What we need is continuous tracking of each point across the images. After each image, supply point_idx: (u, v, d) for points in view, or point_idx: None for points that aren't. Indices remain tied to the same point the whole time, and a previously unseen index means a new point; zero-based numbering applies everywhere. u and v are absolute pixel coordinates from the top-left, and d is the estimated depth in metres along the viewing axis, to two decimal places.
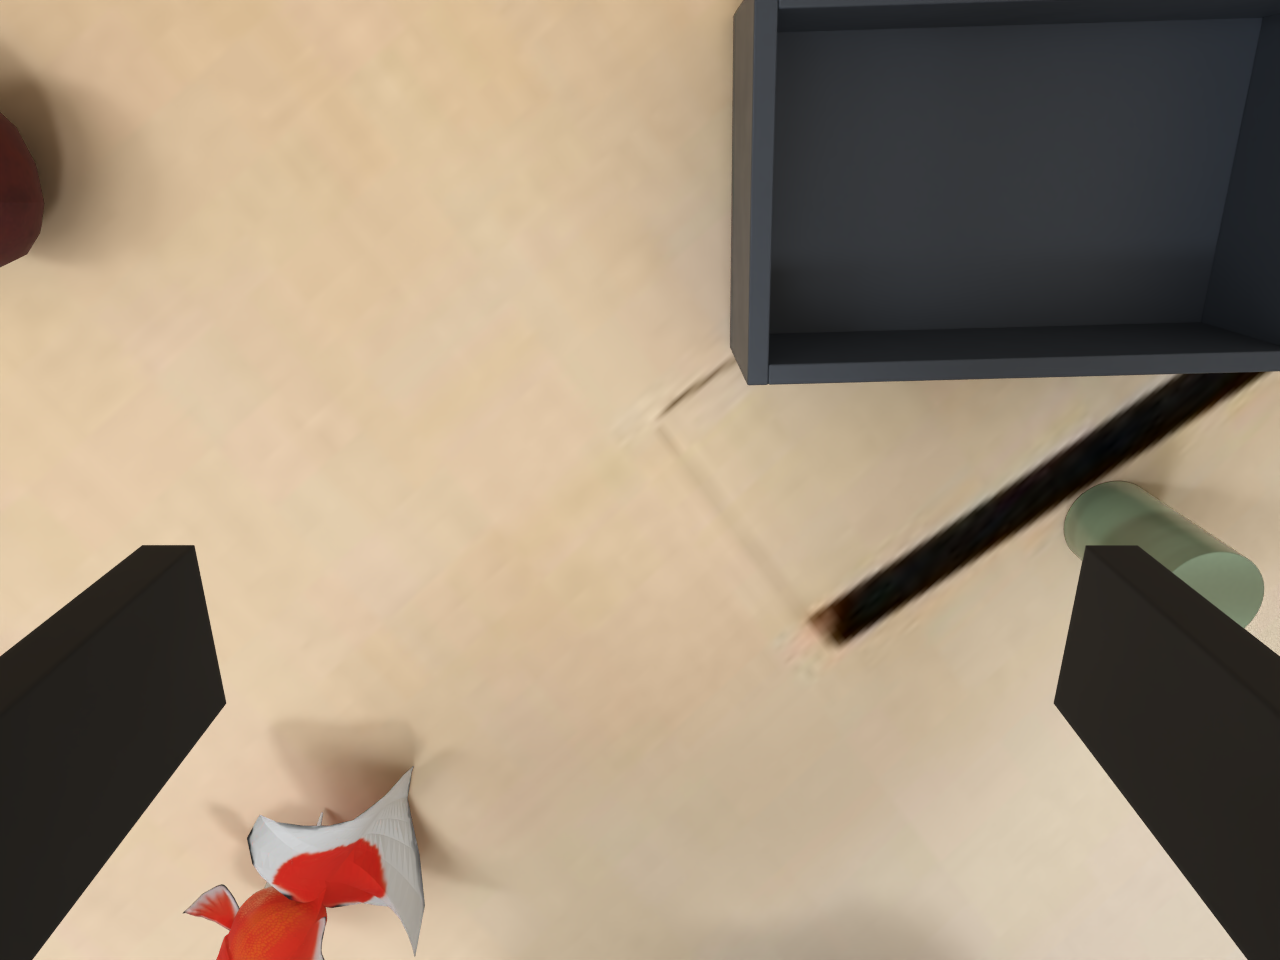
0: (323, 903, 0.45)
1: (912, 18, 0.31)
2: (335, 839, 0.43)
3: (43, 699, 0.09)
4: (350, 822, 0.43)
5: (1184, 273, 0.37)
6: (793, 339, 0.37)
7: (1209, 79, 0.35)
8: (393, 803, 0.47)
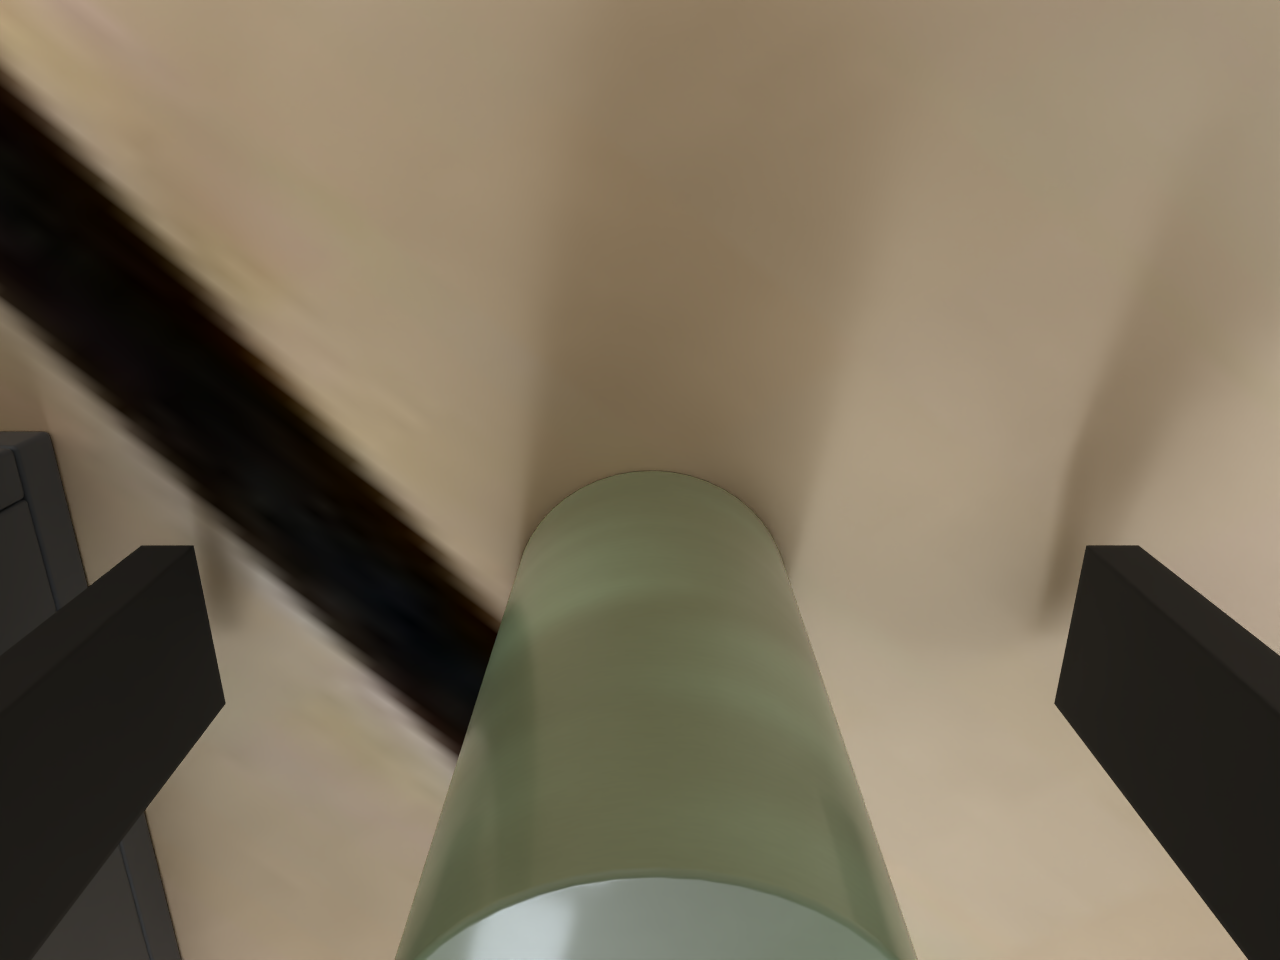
0: None
1: None
2: None
3: (41, 700, 0.09)
4: None
5: None
6: None
7: None
8: None
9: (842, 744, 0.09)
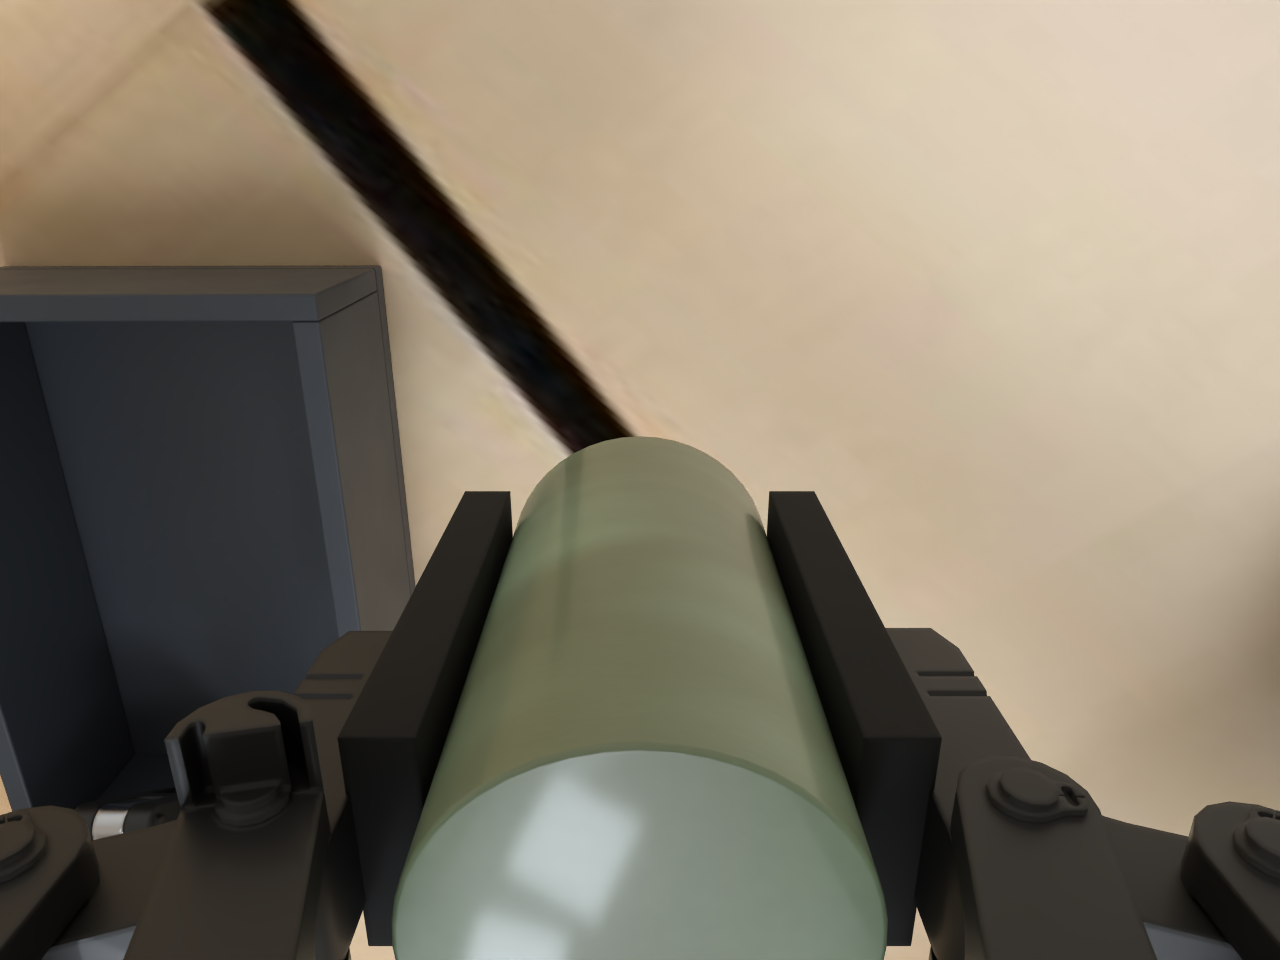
0: None
1: (67, 685, 0.33)
2: None
3: (474, 603, 0.11)
4: None
5: None
6: None
7: (88, 337, 0.31)
8: None
9: (807, 668, 0.10)
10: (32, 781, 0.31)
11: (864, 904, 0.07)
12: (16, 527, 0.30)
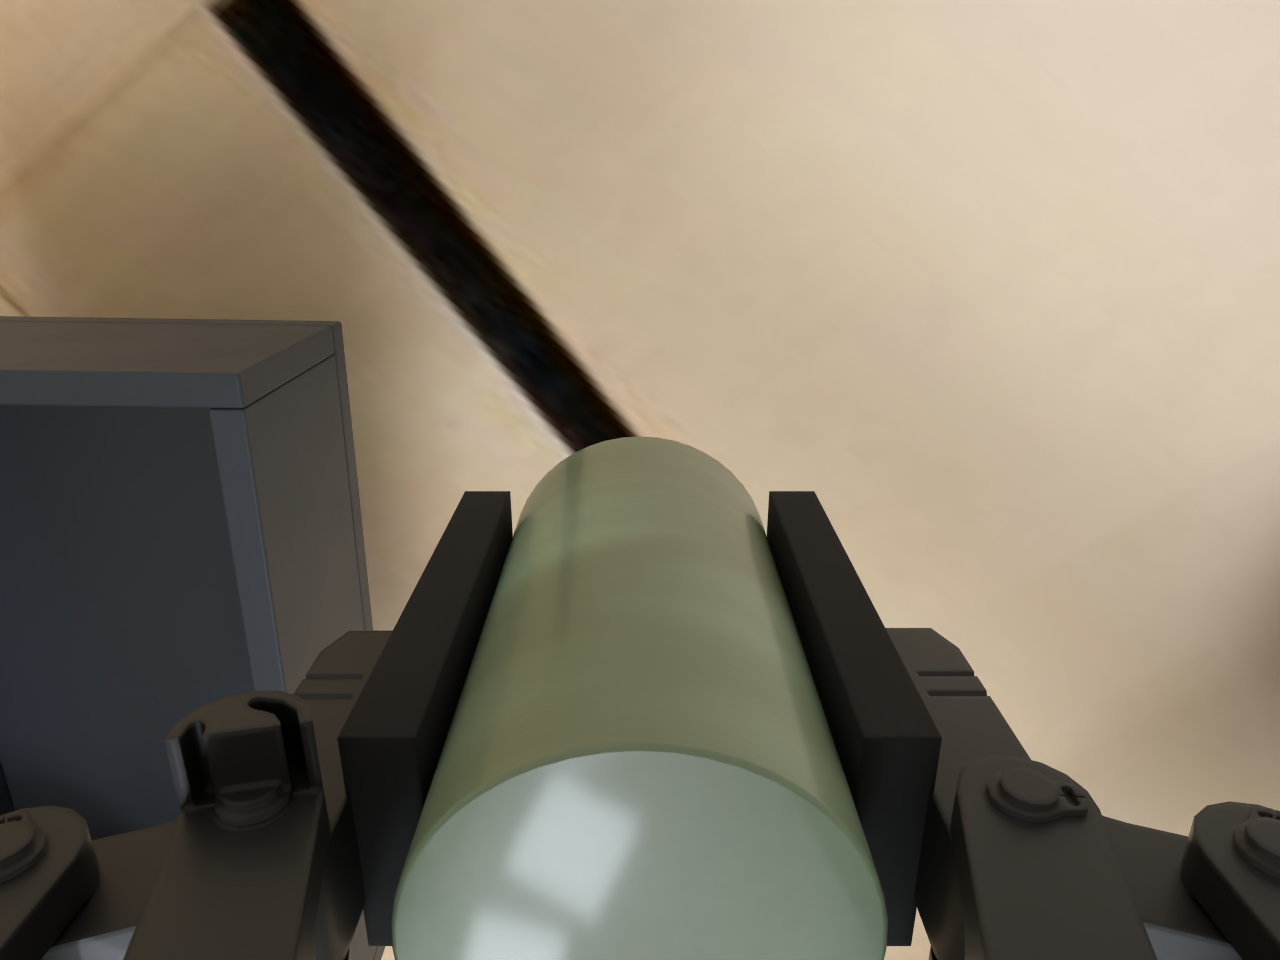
0: None
1: None
2: None
3: (474, 603, 0.11)
4: None
5: None
6: None
7: None
8: None
9: (807, 668, 0.10)
10: None
11: (864, 904, 0.07)
12: None
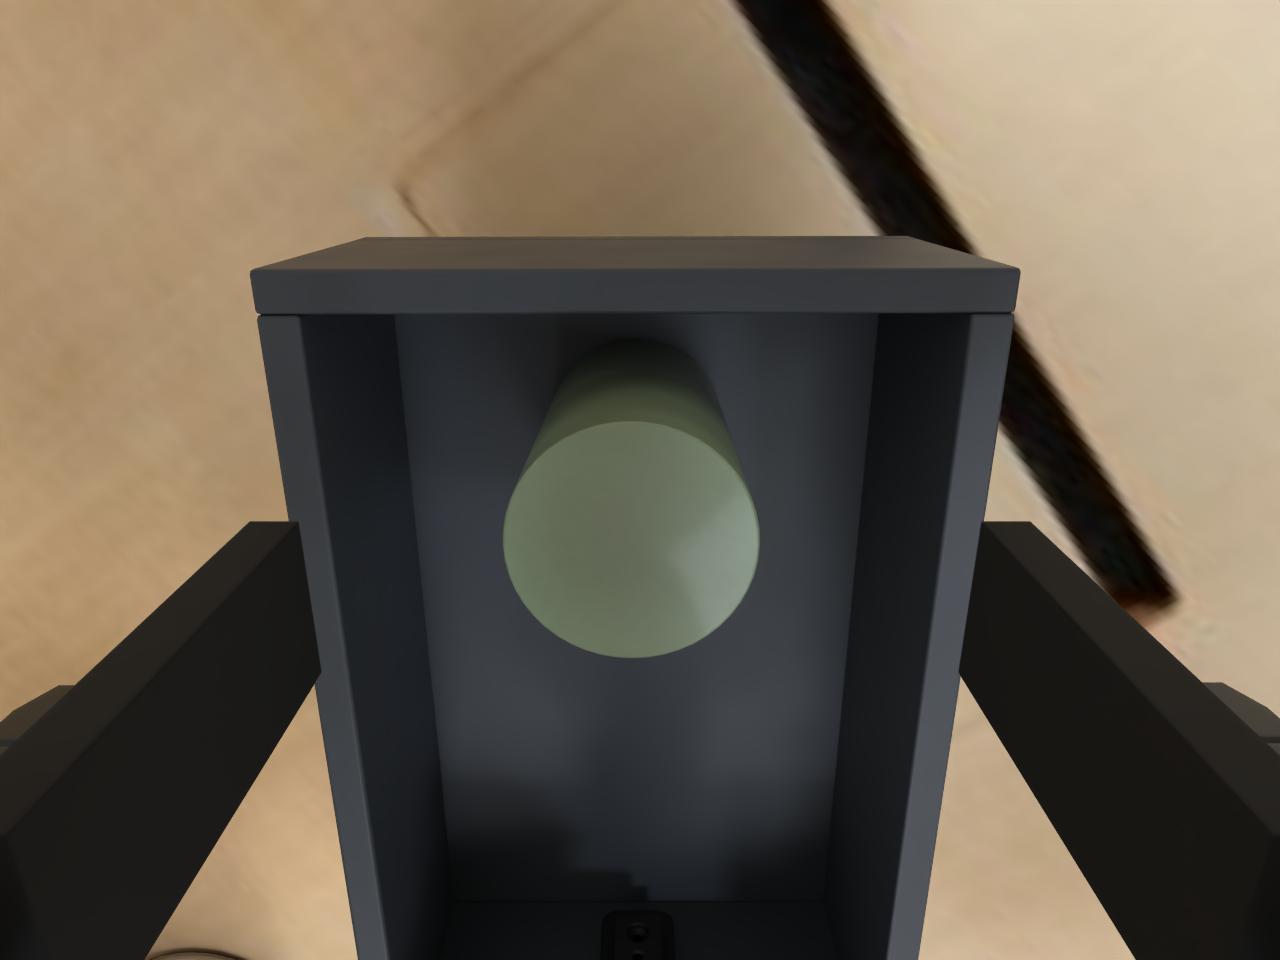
0: None
1: (418, 831, 0.23)
2: None
3: (192, 656, 0.10)
4: None
5: (792, 318, 0.21)
6: (836, 896, 0.26)
7: (483, 340, 0.21)
8: None
9: (731, 441, 0.17)
10: None
11: (746, 516, 0.14)
12: (389, 617, 0.21)
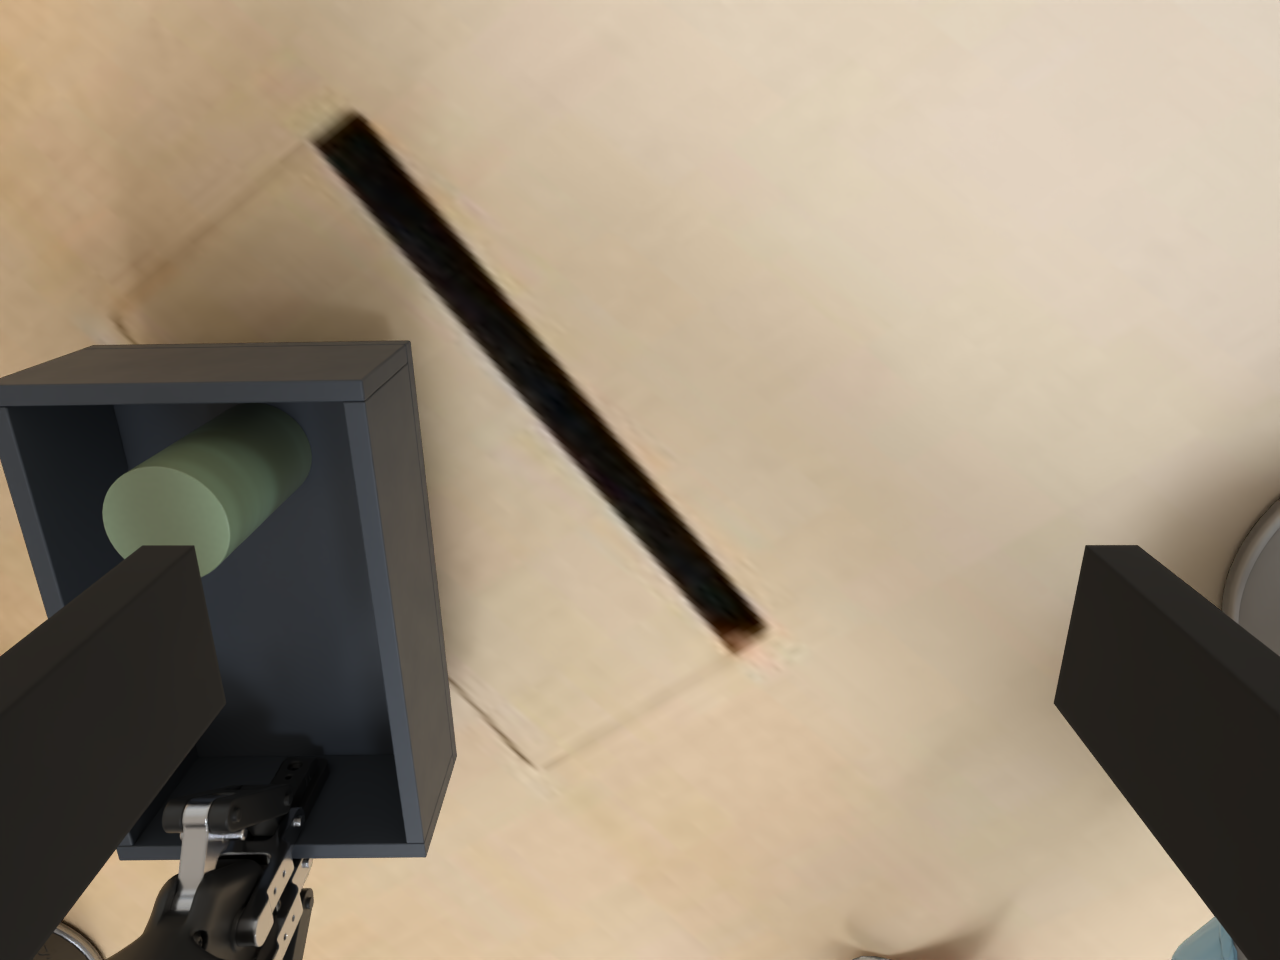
0: None
1: None
2: None
3: (43, 699, 0.09)
4: None
5: None
6: None
7: (163, 404, 0.37)
8: None
9: (252, 469, 0.32)
10: None
11: (218, 510, 0.30)
12: (106, 566, 0.36)
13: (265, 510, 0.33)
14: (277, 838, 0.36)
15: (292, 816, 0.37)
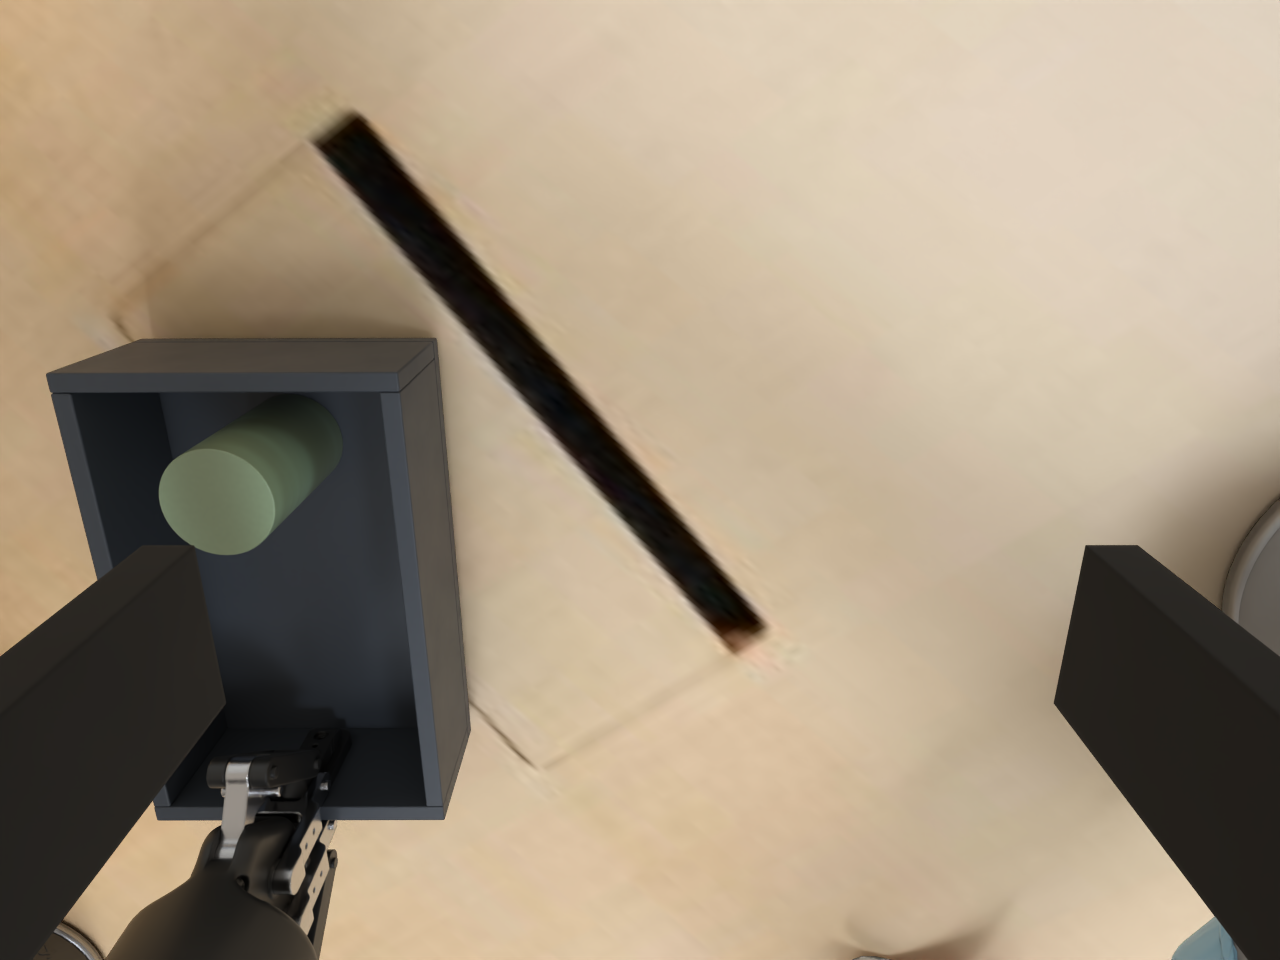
0: None
1: None
2: None
3: (43, 699, 0.09)
4: None
5: None
6: None
7: (206, 394, 0.39)
8: None
9: (293, 453, 0.35)
10: None
11: (265, 490, 0.33)
12: (151, 544, 0.39)
13: (303, 492, 0.36)
14: (307, 799, 0.39)
15: (320, 780, 0.40)
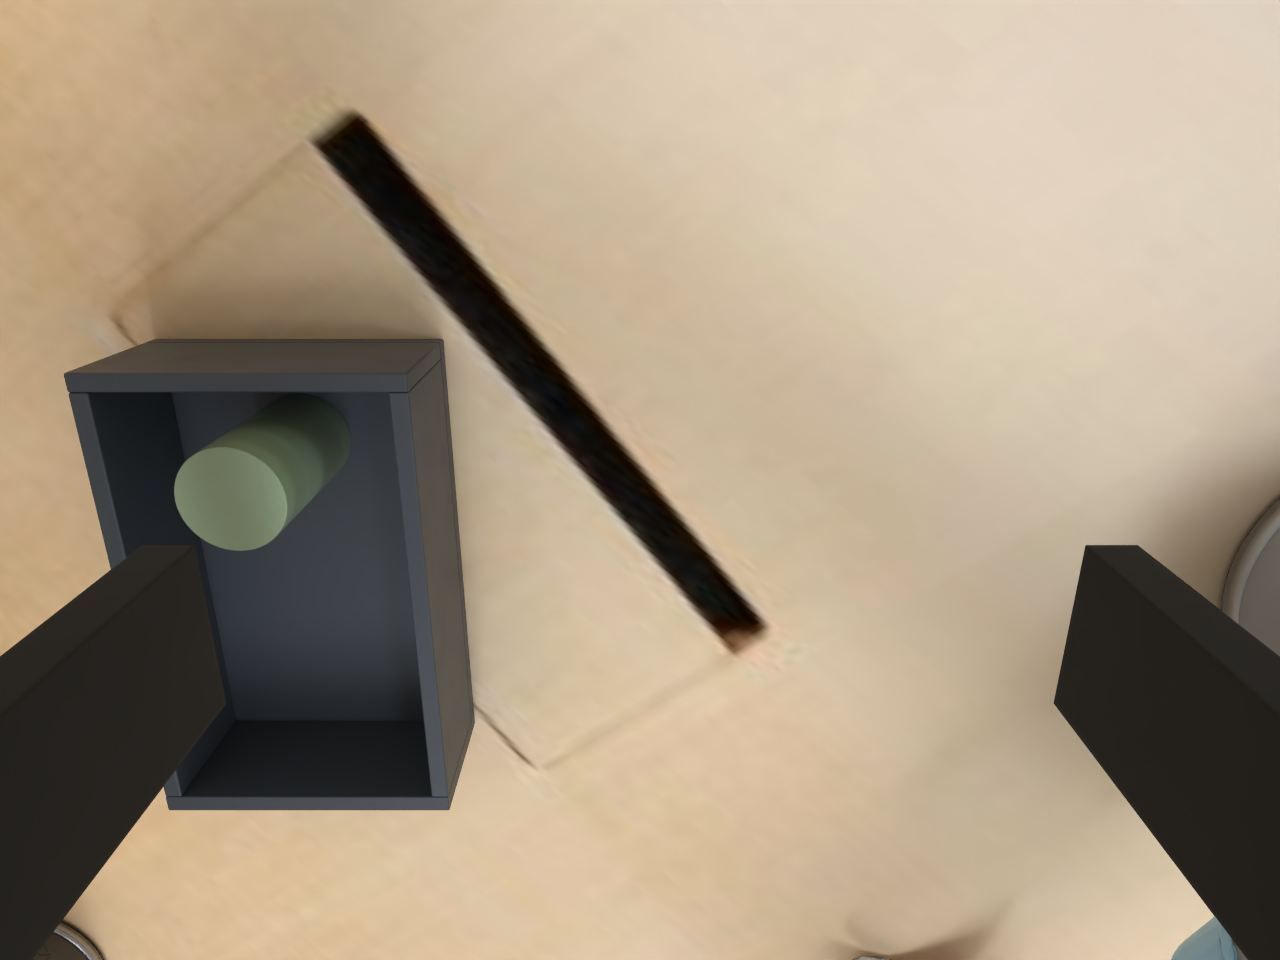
0: None
1: None
2: None
3: (43, 699, 0.09)
4: None
5: None
6: None
7: (218, 394, 0.40)
8: None
9: (304, 452, 0.36)
10: None
11: (278, 487, 0.33)
12: (164, 540, 0.40)
13: (314, 489, 0.37)
14: None
15: None
